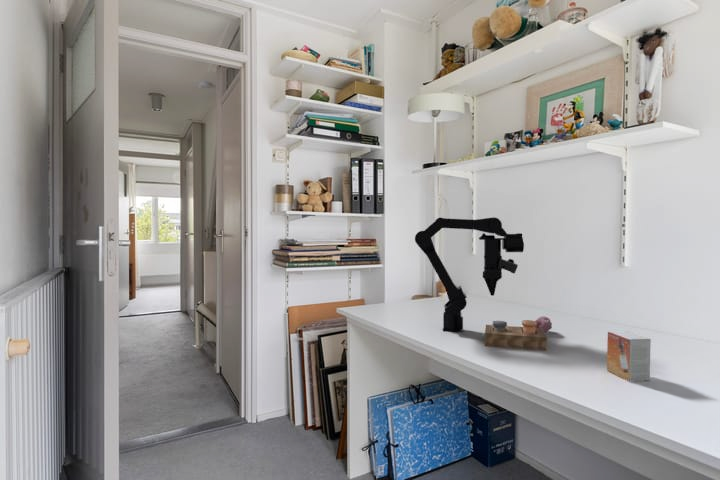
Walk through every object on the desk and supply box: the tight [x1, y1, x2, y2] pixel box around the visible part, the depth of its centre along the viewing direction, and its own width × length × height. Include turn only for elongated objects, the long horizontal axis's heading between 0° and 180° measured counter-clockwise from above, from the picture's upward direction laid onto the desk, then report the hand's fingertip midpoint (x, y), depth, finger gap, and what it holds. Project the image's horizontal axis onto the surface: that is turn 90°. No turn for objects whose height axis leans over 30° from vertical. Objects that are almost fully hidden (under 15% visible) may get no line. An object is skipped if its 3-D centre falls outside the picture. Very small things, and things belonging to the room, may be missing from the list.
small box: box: [606, 330, 652, 383], centre depth 103 cm, size 8×6×10 cm
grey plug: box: [492, 320, 508, 332], centre depth 135 cm, size 4×4×6 cm
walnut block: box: [484, 324, 548, 351], centre depth 133 cm, size 18×12×4 cm, turn 71°
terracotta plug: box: [521, 319, 537, 334], centre depth 132 cm, size 4×4×6 cm
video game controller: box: [535, 315, 553, 334], centre depth 146 cm, size 10×5×7 cm, turn 169°
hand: (492, 295), depth 149 cm, fingers closed
